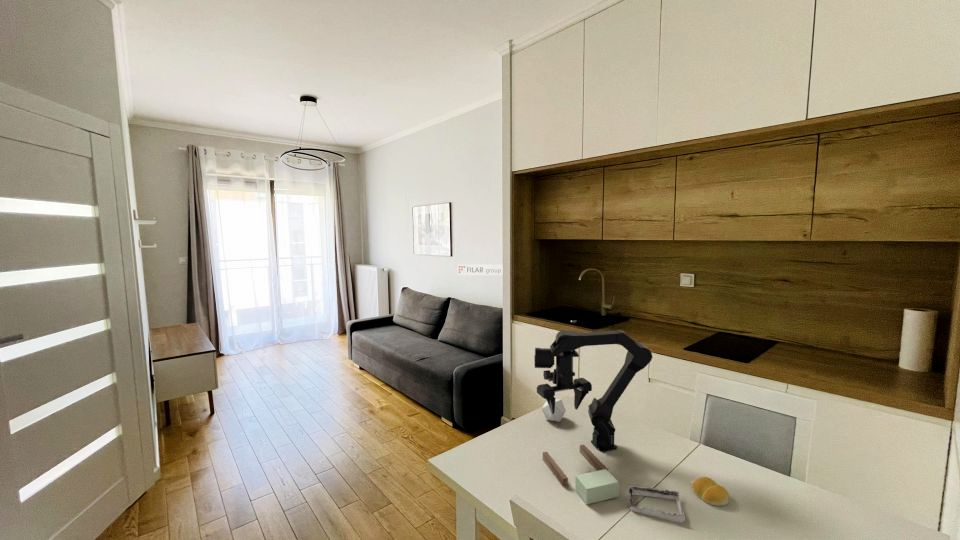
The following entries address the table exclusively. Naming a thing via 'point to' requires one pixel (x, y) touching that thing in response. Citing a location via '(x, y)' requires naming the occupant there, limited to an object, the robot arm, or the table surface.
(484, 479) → the table surface
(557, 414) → the die
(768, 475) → the table surface
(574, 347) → the robot arm
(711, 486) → the bread roll
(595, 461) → the chute rails
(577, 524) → the table surface
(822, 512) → the table surface
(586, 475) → the block
